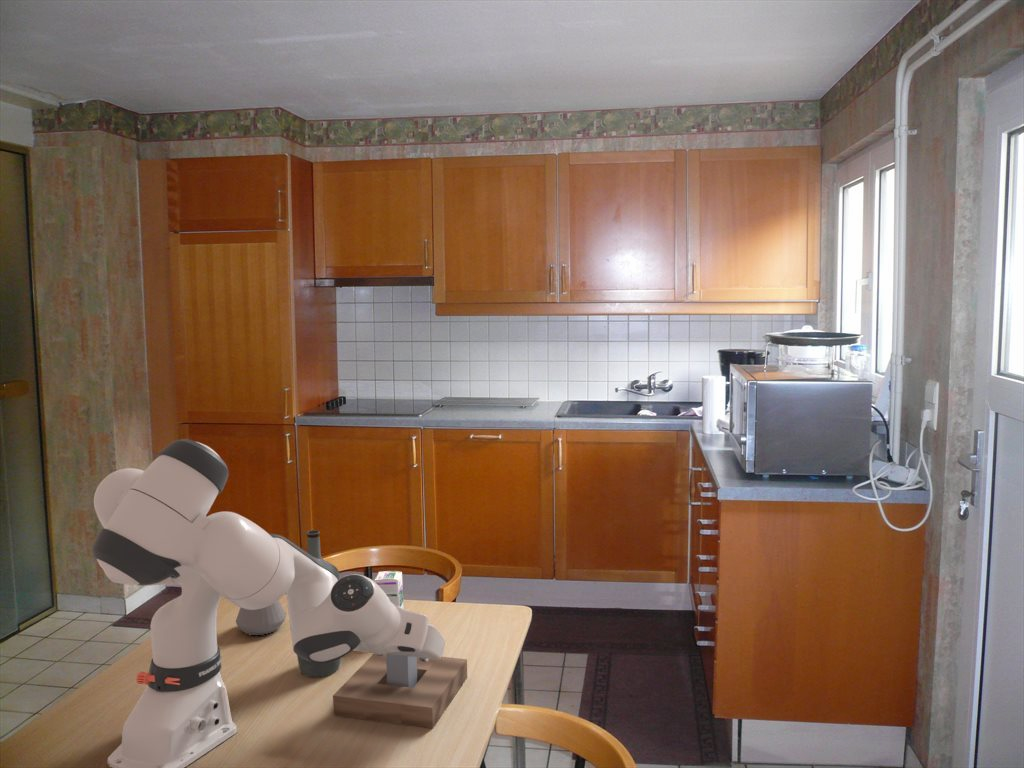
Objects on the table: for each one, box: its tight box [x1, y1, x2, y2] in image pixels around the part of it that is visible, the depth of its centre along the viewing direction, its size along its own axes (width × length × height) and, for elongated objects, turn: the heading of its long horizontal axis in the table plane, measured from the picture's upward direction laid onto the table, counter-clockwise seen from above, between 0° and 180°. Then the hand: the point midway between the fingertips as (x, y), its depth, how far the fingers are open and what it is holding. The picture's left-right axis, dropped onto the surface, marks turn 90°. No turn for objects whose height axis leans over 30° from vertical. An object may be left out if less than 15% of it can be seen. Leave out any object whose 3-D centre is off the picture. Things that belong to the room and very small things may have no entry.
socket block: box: [332, 654, 468, 729], centre depth 163 cm, size 20×20×4 cm
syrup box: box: [373, 570, 405, 609], centre depth 191 cm, size 6×6×14 cm
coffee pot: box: [235, 599, 287, 636], centre depth 196 cm, size 21×12×15 cm, turn 95°
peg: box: [386, 654, 418, 688], centre depth 162 cm, size 4×4×10 cm
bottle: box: [296, 529, 342, 678], centre depth 174 cm, size 9×9×30 cm
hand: (403, 655), depth 163 cm, fingers open, 8 cm apart
